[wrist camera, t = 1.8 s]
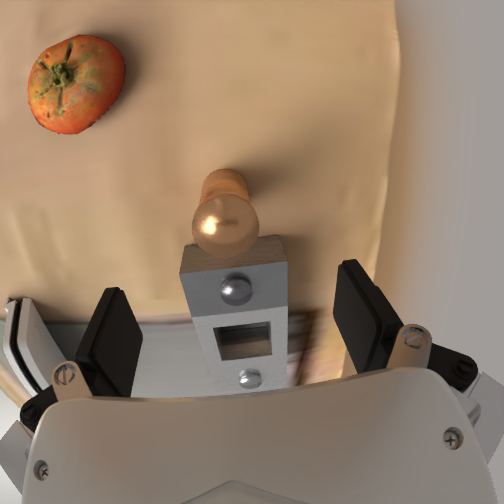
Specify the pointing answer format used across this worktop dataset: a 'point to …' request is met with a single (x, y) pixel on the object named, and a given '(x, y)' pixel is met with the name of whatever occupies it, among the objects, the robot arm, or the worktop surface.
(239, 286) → the grey latch plate
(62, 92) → the tomato
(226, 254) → the pin
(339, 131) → the worktop surface
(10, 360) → the grey toaster
